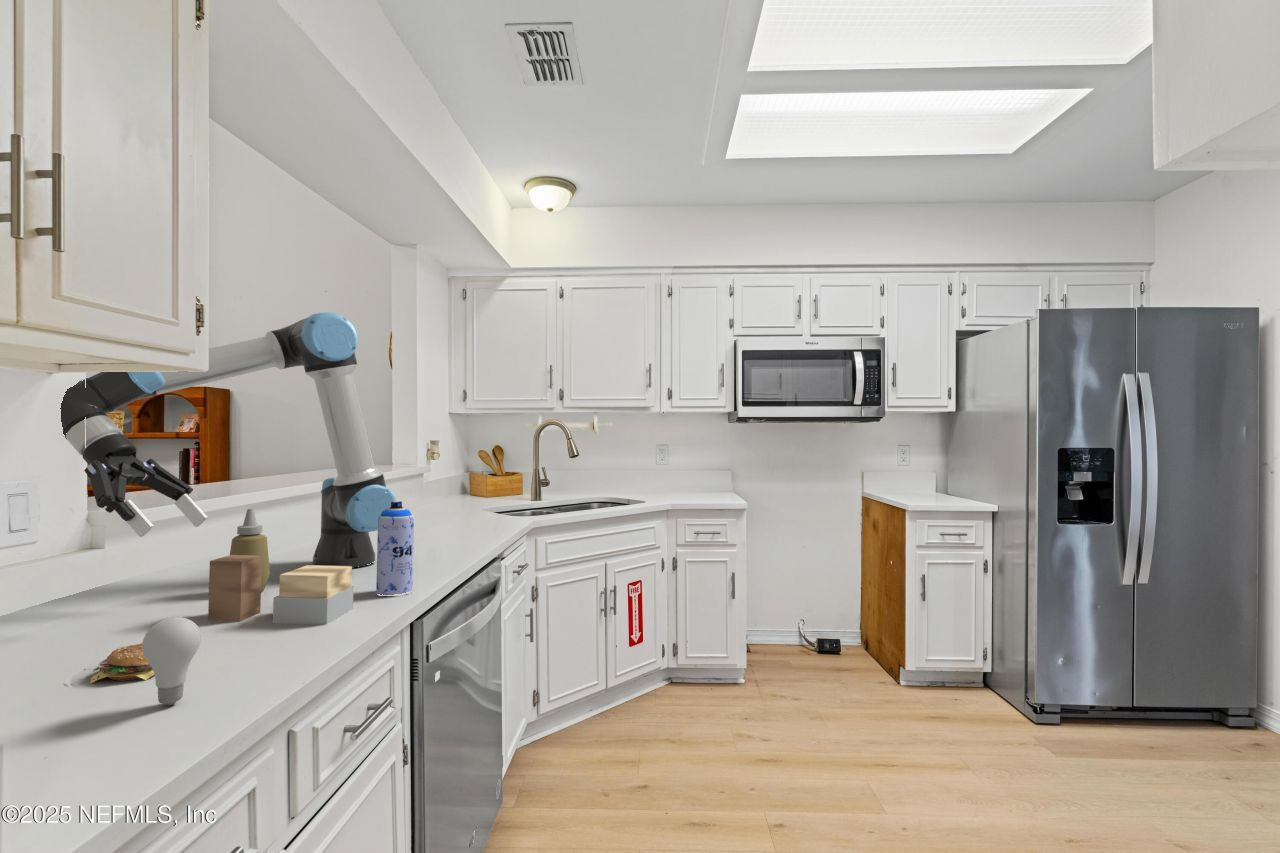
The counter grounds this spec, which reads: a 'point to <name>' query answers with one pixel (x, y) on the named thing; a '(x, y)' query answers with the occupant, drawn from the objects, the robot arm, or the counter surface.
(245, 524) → the squeeze bottle
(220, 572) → the walnut block
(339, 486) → the robot arm
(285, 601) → the grey slab
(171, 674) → the lightbulb
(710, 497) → the counter surface
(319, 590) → the beech slab
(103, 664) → the hamburger
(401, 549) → the aerosol can
